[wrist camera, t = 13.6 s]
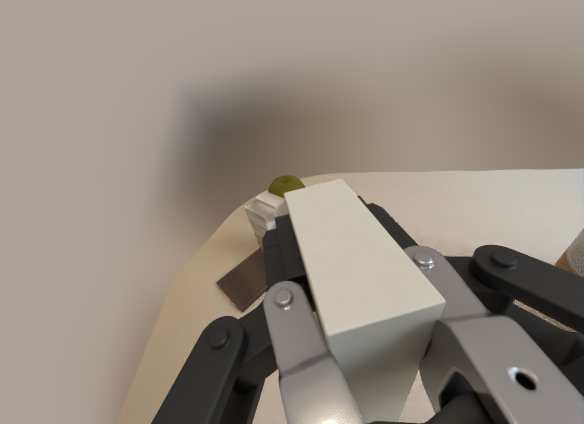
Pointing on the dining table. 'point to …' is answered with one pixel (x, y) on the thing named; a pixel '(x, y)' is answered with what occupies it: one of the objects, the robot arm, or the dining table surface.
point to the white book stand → (251, 272)
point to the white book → (364, 296)
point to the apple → (285, 185)
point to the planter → (573, 257)
